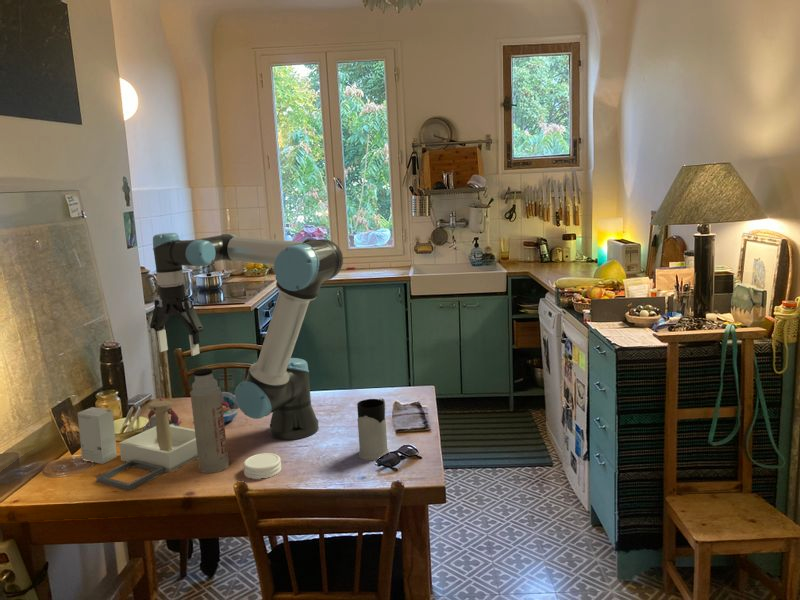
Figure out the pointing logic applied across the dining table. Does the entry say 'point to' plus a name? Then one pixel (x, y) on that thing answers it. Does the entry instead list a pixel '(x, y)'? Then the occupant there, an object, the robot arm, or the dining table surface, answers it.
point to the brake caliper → (173, 421)
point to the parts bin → (149, 452)
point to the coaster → (262, 466)
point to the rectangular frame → (155, 472)
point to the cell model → (229, 406)
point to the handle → (162, 424)
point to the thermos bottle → (209, 422)
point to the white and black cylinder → (372, 429)
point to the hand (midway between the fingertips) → (179, 352)
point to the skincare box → (97, 435)
